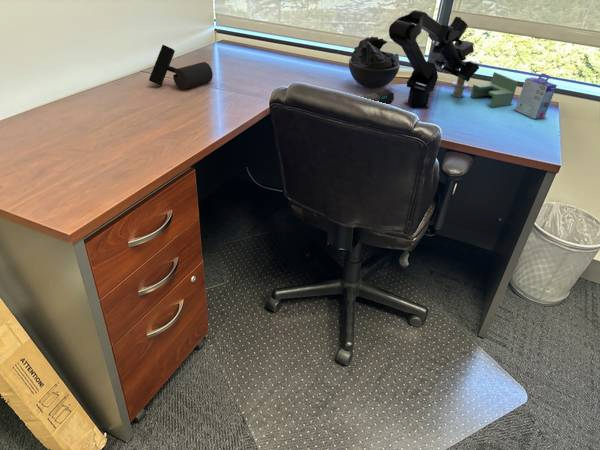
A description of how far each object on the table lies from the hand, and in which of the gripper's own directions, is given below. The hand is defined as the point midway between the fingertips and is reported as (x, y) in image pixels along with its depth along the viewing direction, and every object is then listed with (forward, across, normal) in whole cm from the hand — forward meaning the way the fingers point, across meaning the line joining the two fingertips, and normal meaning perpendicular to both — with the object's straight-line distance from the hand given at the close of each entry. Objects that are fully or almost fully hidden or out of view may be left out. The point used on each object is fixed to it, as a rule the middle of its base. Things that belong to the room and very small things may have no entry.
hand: (464, 78), depth 183 cm
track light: (-67, +42, +77) cm, 110 cm away
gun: (-28, -4, +38) cm, 47 cm away
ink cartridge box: (+13, -25, -4) cm, 28 cm away
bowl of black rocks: (-17, +18, +26) cm, 36 cm away
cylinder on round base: (+4, 0, +6) cm, 7 cm away
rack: (+10, -9, -1) cm, 13 cm away
